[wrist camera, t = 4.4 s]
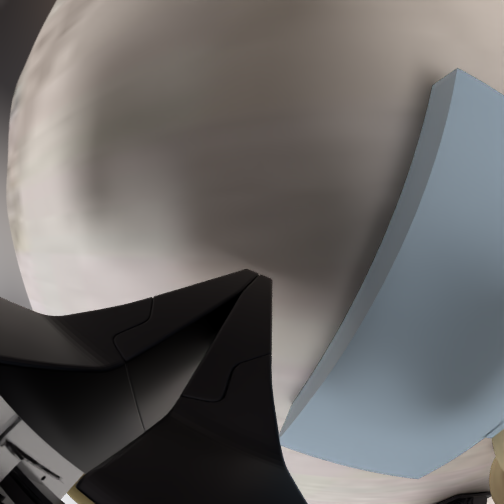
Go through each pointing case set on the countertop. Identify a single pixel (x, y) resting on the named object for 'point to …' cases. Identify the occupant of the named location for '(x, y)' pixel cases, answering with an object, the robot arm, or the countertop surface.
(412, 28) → the countertop surface
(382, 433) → the light blue block
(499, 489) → the wooden tray with rolls
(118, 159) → the countertop surface
